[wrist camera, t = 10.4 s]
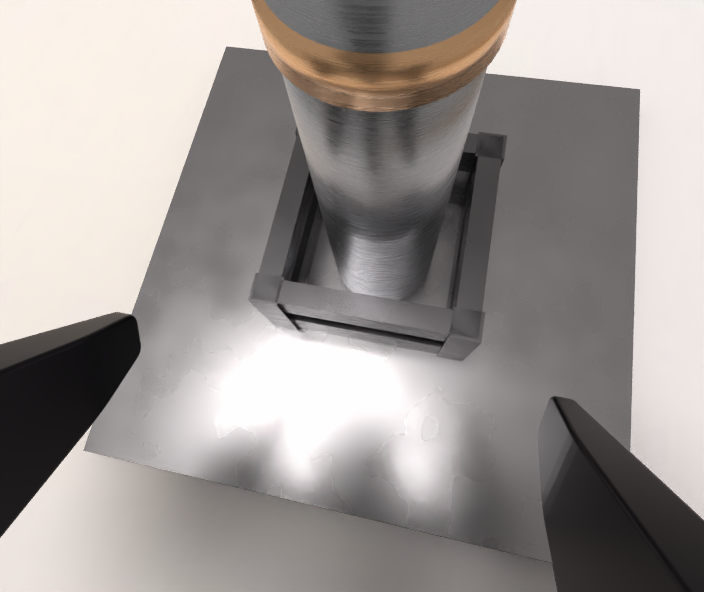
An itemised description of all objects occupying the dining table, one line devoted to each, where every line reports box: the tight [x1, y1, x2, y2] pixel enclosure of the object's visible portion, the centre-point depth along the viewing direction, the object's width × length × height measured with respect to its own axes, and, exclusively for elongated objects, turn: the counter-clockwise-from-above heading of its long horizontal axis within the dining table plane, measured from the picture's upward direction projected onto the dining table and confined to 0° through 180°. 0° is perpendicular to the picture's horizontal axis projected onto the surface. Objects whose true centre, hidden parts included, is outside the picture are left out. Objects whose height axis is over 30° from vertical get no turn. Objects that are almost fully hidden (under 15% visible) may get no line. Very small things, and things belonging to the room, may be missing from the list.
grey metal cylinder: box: [251, 0, 517, 300], centre depth 12 cm, size 4×4×14 cm
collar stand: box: [83, 47, 640, 563], centre depth 17 cm, size 20×20×4 cm
